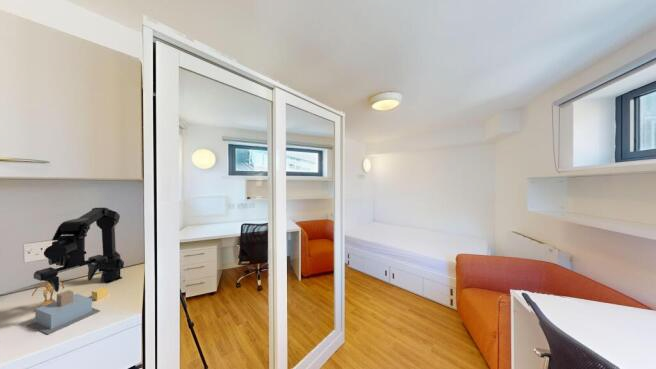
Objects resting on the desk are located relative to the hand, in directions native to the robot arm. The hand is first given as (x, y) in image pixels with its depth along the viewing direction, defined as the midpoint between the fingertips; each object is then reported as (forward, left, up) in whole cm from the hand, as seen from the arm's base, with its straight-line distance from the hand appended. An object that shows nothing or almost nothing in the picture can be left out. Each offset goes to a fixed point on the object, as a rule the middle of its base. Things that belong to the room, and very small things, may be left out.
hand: (73, 285), depth 85 cm
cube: (-10, -4, -12) cm, 16 cm away
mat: (+3, +2, -12) cm, 12 cm away
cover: (+3, +1, -12) cm, 12 cm away
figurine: (+2, -14, -12) cm, 19 cm away
